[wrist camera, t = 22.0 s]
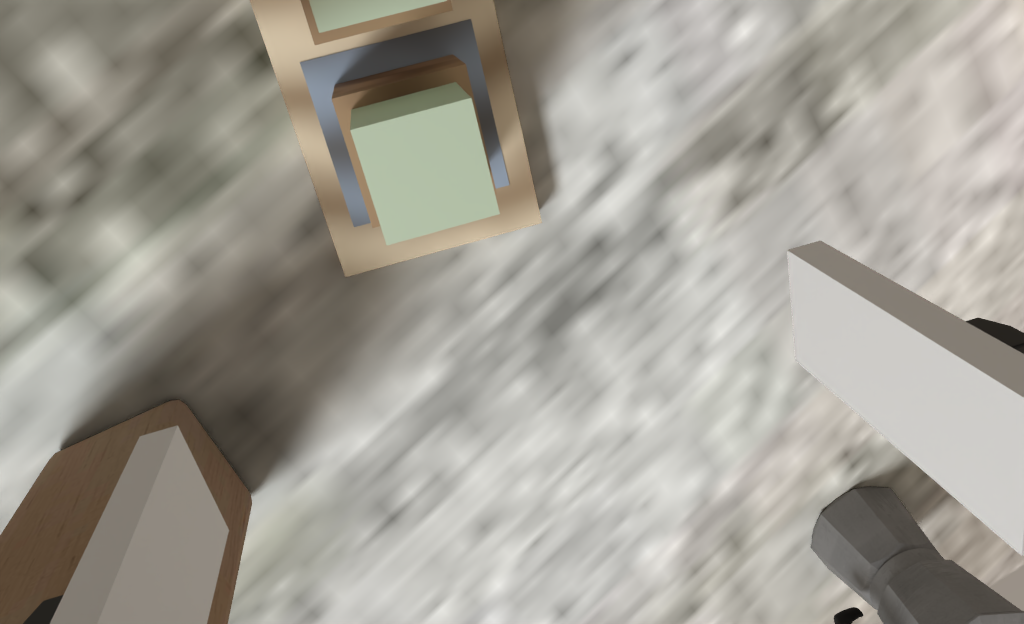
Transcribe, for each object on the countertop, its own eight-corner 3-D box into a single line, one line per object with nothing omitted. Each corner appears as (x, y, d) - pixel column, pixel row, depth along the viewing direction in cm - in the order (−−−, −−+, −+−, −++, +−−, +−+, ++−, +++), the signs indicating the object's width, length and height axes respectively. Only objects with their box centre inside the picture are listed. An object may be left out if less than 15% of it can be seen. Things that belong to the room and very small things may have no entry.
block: (182, 388, 52) (88, 607, 34) (259, 496, 56) (212, 741, 38) (47, 451, 52) (-120, 703, 34) (134, 553, 56) (27, 825, 38)
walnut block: (370, 199, 47) (372, 228, 42) (334, 84, 44) (331, 98, 39) (481, 169, 48) (497, 194, 42) (452, 54, 45) (465, 64, 39)
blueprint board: (218, -105, 41) (212, -110, 39) (452, -161, 42) (457, -167, 40) (345, 266, 50) (345, 277, 49) (535, 214, 51) (542, 223, 50)
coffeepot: (922, 460, 67) (1105, 614, 50) (927, 540, 71) (1099, 707, 54) (757, 521, 66) (888, 697, 50) (772, 598, 70) (898, 785, 54)
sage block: (383, 211, 41) (386, 245, 36) (351, 109, 39) (349, 130, 34) (481, 183, 42) (499, 214, 36) (455, 81, 39) (471, 97, 34)
